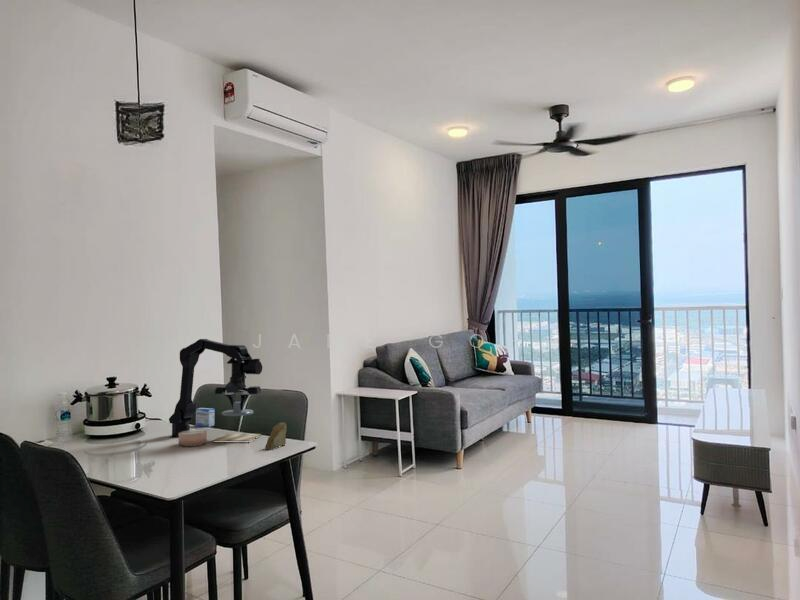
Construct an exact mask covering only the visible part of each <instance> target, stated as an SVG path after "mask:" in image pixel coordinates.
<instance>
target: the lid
mask: <svg viewBox="0 0 800 600" xmlns="http://www.w3.org/2000/svg"><path fill="white" fill-rule="evenodd" d="M253 414H254V410H253V409H249V408H248V409H247V408H243V410H241V401H236V402H234V403H233V408H232V409H228V410H224V411H222V412H221V415H222V416H225V417H242V416H243V417H244V416H249V415H253Z"/></svg>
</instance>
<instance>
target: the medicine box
mask: <svg viewBox="0 0 800 600" xmlns="http://www.w3.org/2000/svg"><path fill="white" fill-rule="evenodd" d="M195 410H196V412H195V427H201V428H202V427H203V428H207V427H208V428H210V427H214V426H215V411H216V410H215V408H214V407H213V408H212V407H211V408H210V407H208V408H207V407H198V408H195Z"/></svg>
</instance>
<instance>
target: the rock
mask: <svg viewBox="0 0 800 600" xmlns="http://www.w3.org/2000/svg"><path fill="white" fill-rule="evenodd" d="M286 434H287V423H286V422H285V421H283V422H278V423H277V424H276V425H274V426H273V427H272V431H271V432H270V434H269V435H270V436H268V438H267V442H266V444H265V446H264V449H265V450H272V449H273V448H274V449H277V448H276V447H278V448H280V447H279V446H281V447H283V446H282V445H284V446H286V445H285V444H286V442H287V441H286V440H287V438H286V436H287V435H286Z"/></svg>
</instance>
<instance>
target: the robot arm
mask: <svg viewBox="0 0 800 600" xmlns="http://www.w3.org/2000/svg"><path fill="white" fill-rule="evenodd" d="M205 350H210V351H214V352H216V353H217V352H218V353H222V354H225V355H226V356H227V357H229V358H230V359H229V360H227V362H226V363H227V364H228V365H230V364H231V372H230V373H231V376H230V377H229V381H228V383H227V384H226V385H224V386H223V385H220V386H217V387H216V388H215V389H214V394H215V395H222V394H223V393H224V396H225V397H227V398H228V400H229V402H230V406H231V407H232V409H233V403H234V402H237V397H236V396H237V393H242V394H240V398H241V399H240V402H241V410H243V409H245V408H244V407H245V406H246V402H247V401H248V399H249V396H251V395H257V394H260V393H262V387H261V386H260V385H259V386H258V385H257V386H256V385H255V386H253V385H252V386H248V387H247V385H246V379H247V375H260V374H261V373H262V372H263V365H262V362H261V360H260V358H252V357H251V354H250V352H249V351H248V348H247V346H245V345H243V344H227V343H223V342H219V341H214V340H211V339H208V338H200V339H198V340H196V341H195V342H193V343H191V344H189V345H188V346H186V347H183V348H181V350H180V351H179V363H180V365H181V367H182V368H181V369H182V370H181V371H182V373H181V381H180V391H179V392H180V393H179V399H178V401H177V403H176V405H175V408H174V412H173V414H172V415H170V417H169V418H168V422H169V424H171V428H172V429H171V435H170V436H179V432H182V431H188V430H191V429H190V421H192V419H193V416H194V415H195V413H196V407H197V403H196V402H194V401H193V399H192V396H193V387H194V386H193V384H194V375H195V374H194V372H195V367H196V366H197V363H198V362H199V358H200V355H202V354H203V353H204V351H205Z"/></svg>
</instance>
